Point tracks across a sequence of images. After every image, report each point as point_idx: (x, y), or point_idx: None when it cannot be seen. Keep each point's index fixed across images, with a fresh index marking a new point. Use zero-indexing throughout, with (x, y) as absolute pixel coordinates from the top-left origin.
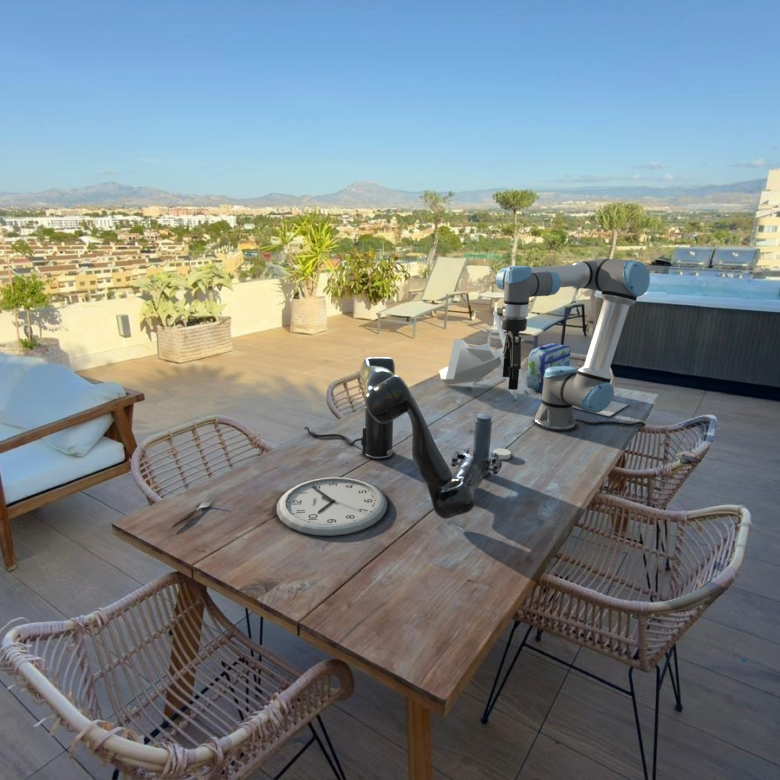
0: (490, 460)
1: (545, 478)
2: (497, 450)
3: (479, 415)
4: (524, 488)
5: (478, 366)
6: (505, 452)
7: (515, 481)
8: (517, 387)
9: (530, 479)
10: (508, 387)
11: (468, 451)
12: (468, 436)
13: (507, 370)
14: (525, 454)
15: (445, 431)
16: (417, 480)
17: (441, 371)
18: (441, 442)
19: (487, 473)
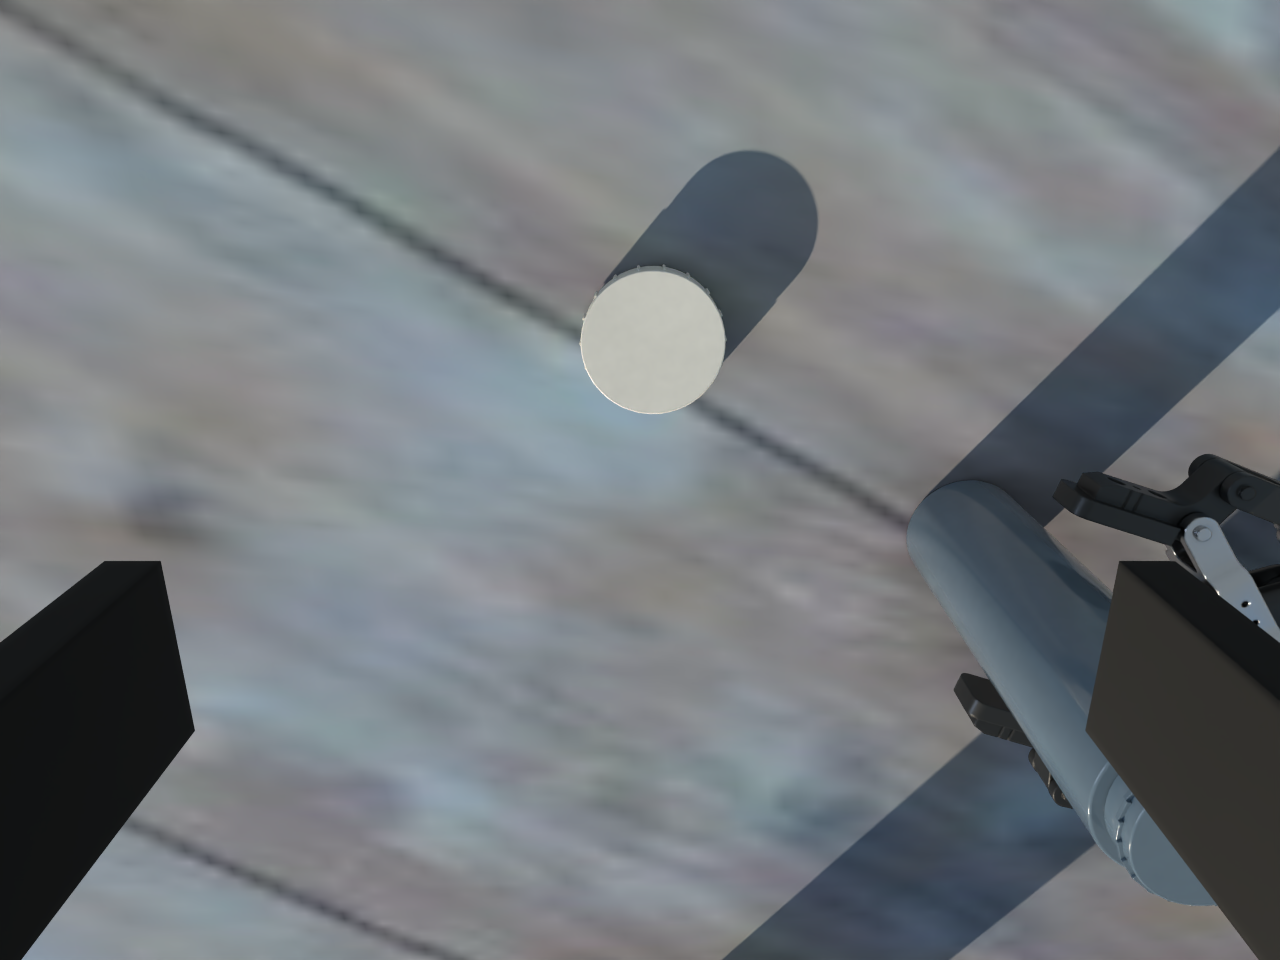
0: (1236, 565)
1: (1071, 28)
2: (630, 380)
3: (1180, 879)
4: (1225, 243)
5: None
6: (667, 318)
7: (1108, 294)
8: (1203, 588)
9: (1081, 166)
10: (1110, 749)
11: (991, 696)
12: (286, 558)
13: (80, 751)
14: (592, 118)
15: (225, 717)
16: (1055, 882)
17: None
18: (453, 749)
19: (996, 487)
